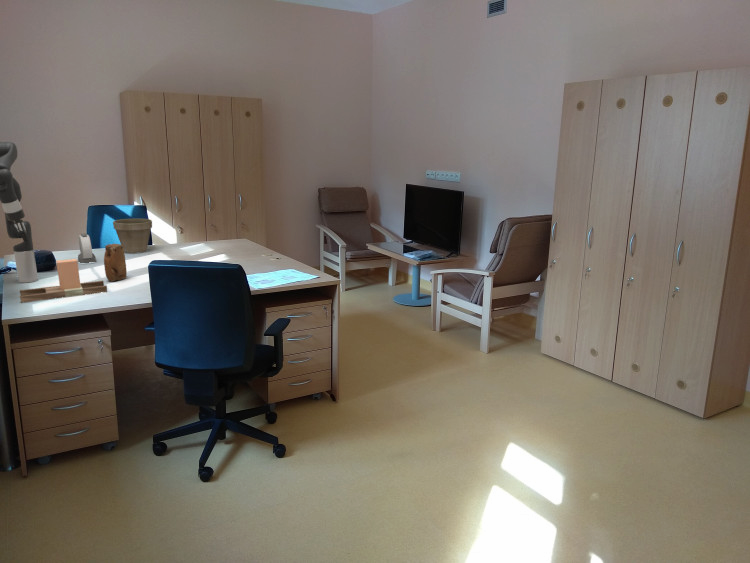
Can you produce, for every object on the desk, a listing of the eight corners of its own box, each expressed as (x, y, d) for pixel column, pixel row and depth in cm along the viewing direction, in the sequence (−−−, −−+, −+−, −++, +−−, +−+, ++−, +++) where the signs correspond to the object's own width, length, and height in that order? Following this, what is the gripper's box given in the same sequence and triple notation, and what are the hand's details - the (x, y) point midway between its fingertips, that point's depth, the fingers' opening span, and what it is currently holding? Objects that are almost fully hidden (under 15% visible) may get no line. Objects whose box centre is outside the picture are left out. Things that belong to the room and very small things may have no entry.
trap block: (60, 287, 284) (56, 260, 281) (79, 285, 289) (76, 258, 285) (60, 290, 279) (56, 262, 276) (80, 287, 284) (77, 260, 280)
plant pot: (162, 249, 397) (159, 218, 392) (140, 255, 374) (137, 224, 369) (131, 247, 403) (128, 217, 397) (108, 254, 380) (104, 222, 374)
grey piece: (98, 263, 352) (94, 234, 347) (80, 265, 346) (76, 236, 342) (94, 258, 365) (90, 231, 360) (76, 260, 359) (73, 232, 355)
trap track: (20, 296, 279) (19, 290, 278) (103, 285, 299) (103, 280, 298) (21, 302, 268) (20, 296, 267) (107, 291, 287) (106, 286, 287)
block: (117, 276, 318) (114, 242, 313) (128, 277, 316) (125, 243, 311) (104, 281, 308) (99, 246, 303) (115, 282, 306) (111, 246, 301)
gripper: (22, 211, 268) (36, 243, 277) (20, 203, 278) (33, 233, 287) (5, 215, 265) (19, 247, 274) (3, 206, 274) (16, 238, 283)
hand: (26, 240), depth 280 cm, fingers closed
